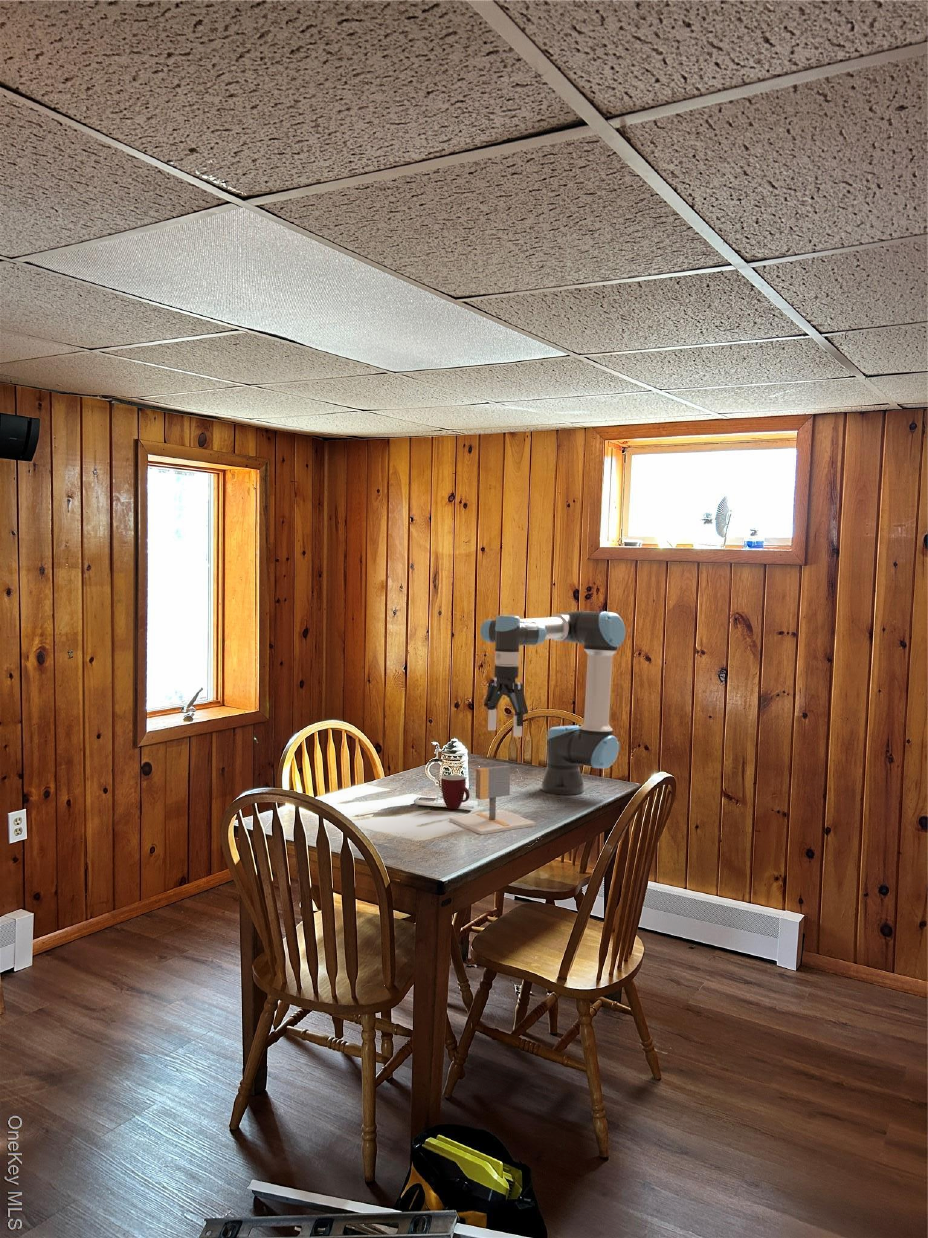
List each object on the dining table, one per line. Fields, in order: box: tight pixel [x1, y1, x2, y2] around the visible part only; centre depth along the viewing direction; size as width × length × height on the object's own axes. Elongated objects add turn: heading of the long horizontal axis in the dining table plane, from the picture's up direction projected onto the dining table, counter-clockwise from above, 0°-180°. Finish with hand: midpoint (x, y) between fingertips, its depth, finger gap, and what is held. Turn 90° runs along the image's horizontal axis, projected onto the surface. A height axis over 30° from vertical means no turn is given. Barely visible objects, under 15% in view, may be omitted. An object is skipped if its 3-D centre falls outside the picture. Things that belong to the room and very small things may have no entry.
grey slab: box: [475, 764, 511, 801], centre depth 282 cm, size 11×3×9 cm, turn 122°
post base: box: [449, 797, 537, 835], centre depth 282 cm, size 20×18×8 cm
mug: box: [440, 774, 470, 810], centre depth 300 cm, size 11×8×10 cm
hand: (504, 733), depth 283 cm, fingers open, 13 cm apart
